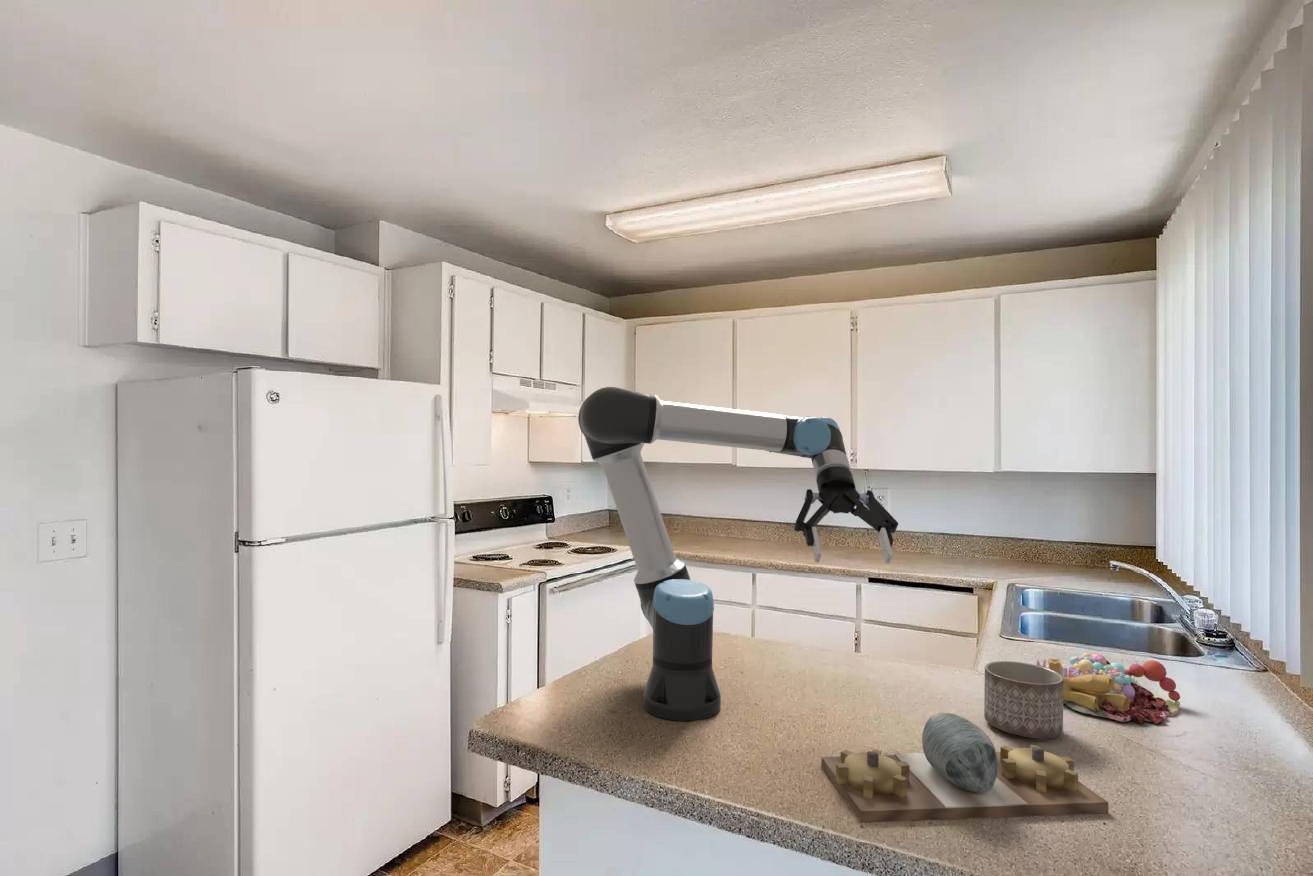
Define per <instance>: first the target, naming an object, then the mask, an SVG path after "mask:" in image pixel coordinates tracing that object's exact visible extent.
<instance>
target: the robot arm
mask: <svg viewBox="0 0 1313 876" xmlns="http://www.w3.org/2000/svg"><path fill="white" fill-rule="evenodd" d="M577 422H578V426H579V430H580V431H581V433H582V435H583V436H584V438H585V441H586V444H587V447H588V449H589V453H590V456H591V459H592V461H593V462H596V463H597V464H599V465H600V466H602V469H603V471H604V475H605V477H606V481H607V484H608V487H609V489H610V493H611V495H612V496H611V497H612V498H613V501H614V503H615V507H616V510H617V513H618V516H619V518H620V522H621V525H622V527H623V530H624V534H625V537H626V540H627V542H628V546H629V549H630V551H631V554H632V558H633V561H634V563H635V566H636V569H637V572H636V574H635V576H634V579H633V582H634V586H635V588H636V591H637V594H638V597H639V599H640V600H639V602H640V609H641V611H642V614H643V615H644V617H645V620H647V621H648V623H649V625H650V626H651V628H652V667H651V669H650V671H649V675H648V678H647V681H646V683H645V688H644V689H643V694H642V707H643V709H644V710H645V711H646V712H648V713H649V714H650V715H652V716H655V717H658V718H662V719H666V720H672V721H683V722H684V721H686V722H687V721H698V720H703V719H707V718H710V717H713V716H714V715H716V714H718V713H719V712H720V710H721V705H722V704H721V703H722V700H721V699H722V696H721V693H720V689H719V686H718V682H717V679H716V675H715V672H714V669H713V640H714V639H713V635H714V632H713V631H714V610H715V604H714V603H715V602H714V595H713V592H712V589H711V588H710V587H709V586H708V585H706V584H704V583H702V582H697V581H696V580H692V579H691V578H690V574H689V571H688V568H687V565H686V562H685V561H683V560H681V559H678V558H677V556H676V555H675V552H674V549H673V546H672V542H671V540H670V536H669V533H668V530H667V528H666V525H665V523H664V519H663V516H662V513H661V510H660V507H659V504H658V501H657V498H656V495H655V493H654V490H653V487H652V484H651V479H650V477H649V474H648V471H647V469H646V465H645V462H644V460H643V456H642V453H641V451H642V449H643V448H644V446H645V444H649V445H651V444H653V443H654V442H655V441H657V440H660V441H661V440H663V441H670V442H680V443H681V442H682V443H689V444H691V443H692V444H700V445H709V446H719V447H720V446H721V447H728V448H729V447H730V448H740V449H747V450H755V451H756V450H759V451H765V452H769V453H770V454H771V453H775V454H782V455H789V456H795V457H799V458H806V459H811V463H812V464H811V465H812V468H813V472H814V475H815V481H816V486H817V491H818V492H813V489H810V488H807V489H806V491H805V496H804V502H803V505H802V507H801V509H800V511H799V514H798V516H797V518H796V520H795V523H794V531H795V532H798V533H799V532H803V533H802V535H803V536H804V537H805V543H806V545H807V547H811V548H812V549H811V550H812V554H813V559H814V563H820V561H821V557H822V551H821V549H822V548H821V546H820V545H821V544H820V540H819V535H818V534H819V533H818V530H817V525H818V524H819V523H820V522H821V521H822V519H823V518H824V517H826V516H827V515H828V514H829V513H830V512H832V513H833V514H839V513H842V514H849V513H850V514H851V515H853V516H854V517H858V518H860V520H861V521H863V522H865V523H866V524H867V525H869V526H870V527H871V528H873V529H874V530H875V531H876V532H878V535H877V538H878V541H879V544H880V548H881V551H882V556H883V558H884V563H885V564H890V563H891V561H892V560H893V557H894V553H893V549H892V546H893V544H894V539H893V534H894V533H895V532H896V530H897V529H898V526H899V522H898V520H896V519H895V518H894V516H892V515H891V514H890V512H889V511H888V510H887V509H886V508H885V507H884V506H883V505H882V504H881V503H880V501H878V499H876V497H875V495H874V492H873V491H872V490H871V489H868V490H866V492H865V493H859V492H858V491H857V488H856V484H855V481H854V476H853V473H852V469H851V466H850V461H849V459H848V455H847V452H846V447H845V443H844V439H843V438H844V437H843V434H842V432H841V430H840V426H839V425H838V422H837V421H835V420H834V419H833V418H831V417H828V416H827V417H826V416H822V417H814V416H805V417H803V416H793V415H785V414H784V415H783V414H776V413H769V412H761V411H750V410H744V409H743V410H741V409H733V408H726V407H717V406H707V405H698V404H692V403H683V402H673V401H666V400H665V401H664V400H661V399H660V398H659V396H658V395H657V394H651V393H650V394H649V393H643V392H638V391H632V390H629V389H626V388H620V387H617V386H605V387H601V388H599V389H597V390H595V391H594V392H592V393H590V395H589V396H587V398H586V399H584V401H583V402H582V404H581V406H580V408H579V412H578V421H577ZM816 500H818V502H819V503H820V504H821V506H820V507H819V508H817V510H816V511H815V512H814V513H813V515H812V516H811V517H810V518H809V519H808V520H807V521H806V522H805V520H806V518H807V516H808V513H809V511H810V509H811V506H812V505H813V504H814V503H815V502H816Z"/></svg>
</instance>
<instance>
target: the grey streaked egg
mask: <svg viewBox="0 0 1313 876" xmlns="http://www.w3.org/2000/svg"><path fill="white" fill-rule="evenodd" d="M921 740H922V750H923V753H924V754H925V756H926V759H927V761H928V762H929V763H930V765H931V766H932V767H933V768H934V769H935V770H937V771H938V772H939V773H940V774H941V775H942V776H944V777H945V778H946V779H948V780H949V781H951V782H952V783H954V784H955V785H957V786H959V787H961V788H963V789H966V790H969V791H973V792H977V793H984V792H986V791H988V790H990V789H991V788H992V787H993V785H994V783H995V780H996V777H997V755H996V752H997V751H996V748H995V746H994V743H993V741H992V740H991V738H990V737H989V735H987V733H986V732H985V731H984V730H983V729H982V728H981V727H979V726H978V725H976V724H975V723H973V722H972V721H970V720H968V719H967V718H964V717H963V716H960V715H957V714H955V713H948V712H938V713H935V714H933V715H931V716H930V717H929V718H928V719H927V721H926V722H925V724H924V727H923V731H922V735H921Z"/></svg>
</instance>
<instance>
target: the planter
mask: <svg viewBox="0 0 1313 876" xmlns="http://www.w3.org/2000/svg"><path fill="white" fill-rule="evenodd" d="M1041 666H1042V665H1041ZM1041 666H1038V665H1036V664H1032V663H1028V662H1022V661H1014V660H1013V661H1012V660H1011V661H1010V660H1008V661H1007V660H998V661H991V662H988V663H986V664H985V665H984V689H983V690H984V694H983V695H984V698H983V699H984V700H983V703H984V704H983V705H984V706H983V707H984V708H983V715H984V716H983V717H984V720H985V721H986V722H987V723H988V724H990V725H991V726H992V727H994V728H996V729H998V730H1001V731H1003V732H1005V733H1009V734H1011V735H1016V736H1020V737H1027V738H1032V739H1033V738H1034V739H1036V738H1037V739H1052V738H1056V737H1059V736H1061V734H1062V733H1063V731H1064V703H1063V677H1062V676H1061V675H1060V674H1059V673H1057V672H1055V671H1053V670H1051V669H1048V668H1049V667H1046V668H1045V667H1041Z"/></svg>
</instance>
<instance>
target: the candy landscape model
mask: <svg viewBox="0 0 1313 876" xmlns="http://www.w3.org/2000/svg"><path fill="white" fill-rule="evenodd" d="M1047 664H1048V667H1047ZM1069 664H1071V665H1070V666H1069V667H1068V668H1067V667H1063V666H1062V662H1061V659H1060V658H1058V659H1056V658H1048V659H1045V658H1044V660H1043V662H1042V665H1041V661H1040V660H1039V659H1037V660H1036V664H1035V665H1038V666H1041V667H1045V668H1048V669H1051V670H1053V671H1055V672H1057V673H1059V674H1060V675H1061V676H1062V677H1063V705H1064V704H1065V705H1066V706H1067V707H1068V708H1071V709H1072V710H1074V711H1078V712H1079V713H1082V714H1088V715H1089V714H1090V715H1093V716H1097V717H1101V718H1108V719H1111V720H1115V721H1117V722H1130V721H1133V722H1136V723H1137V724H1139V725H1141V726H1142V725H1143V722H1144V721H1145V722H1151V723H1152V722H1153V723H1154V724H1155V725H1158V724H1160V723H1162V722H1164V721H1165V720H1167V719H1166V717H1174V716H1176V715H1178V714H1179V712H1180V711H1181V707H1180V706H1181V702H1180V701H1179V700H1180V699H1181V695H1180V692H1178V691H1176V689H1177V684H1176V682H1175V680H1174V679H1172V678H1171V677H1168V676H1167V674H1168V673H1167V669H1166V667H1165V666H1164V664H1162V663H1161V662H1159V661H1157V660H1147V661H1145V662H1144V663H1143V664H1142V665H1141V664H1139V663H1133V664H1130V666H1129V668H1128V669H1125V667H1124V666H1123V665H1122V664H1121V663H1120V662H1111V663H1110V662H1109V660H1107V659H1106V657H1105V656H1104V655H1103V654H1100V653H1093V654H1090V653H1089V652H1084V653H1083V654H1082V655H1081V656H1077V655H1074V656H1071V657H1070V659H1069ZM1132 676H1133V677H1134V678H1133V677H1132ZM1142 677H1145V678H1146V679H1147V680H1149V681H1151V682H1154V683H1155V682H1156V683H1157V682H1158V683H1159V687H1160V689H1162V690H1163V691H1165V692H1168V695H1167V696H1168V698H1169V699H1168V698H1165V697H1163V696H1160V695H1158V694H1154V693H1153V692H1152V691H1150V690H1148V689H1147V688H1145V687H1144V686H1142V685H1141V683H1139V682H1138V680H1137V679H1136V678H1142Z"/></svg>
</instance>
